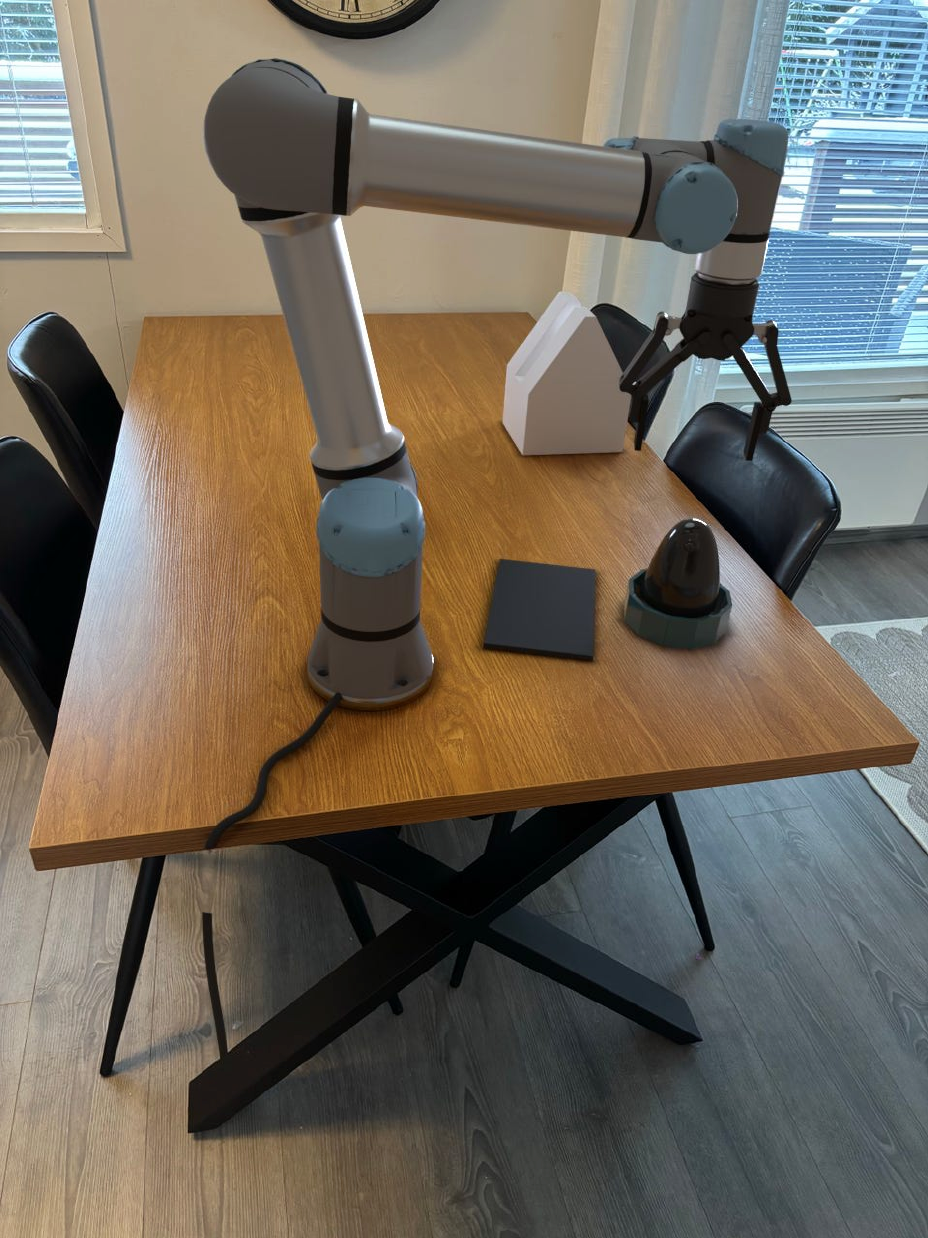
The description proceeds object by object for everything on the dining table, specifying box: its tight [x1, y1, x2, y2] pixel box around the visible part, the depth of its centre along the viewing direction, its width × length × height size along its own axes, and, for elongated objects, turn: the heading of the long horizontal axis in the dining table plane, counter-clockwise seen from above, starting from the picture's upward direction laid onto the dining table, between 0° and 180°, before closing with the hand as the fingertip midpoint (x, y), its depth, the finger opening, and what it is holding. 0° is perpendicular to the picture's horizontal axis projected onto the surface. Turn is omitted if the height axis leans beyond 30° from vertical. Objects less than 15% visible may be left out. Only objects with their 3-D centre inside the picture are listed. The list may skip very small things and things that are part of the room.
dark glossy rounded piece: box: [641, 518, 721, 619], centre depth 127 cm, size 10×10×15 cm
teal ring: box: [623, 567, 733, 650], centre depth 130 cm, size 14×14×4 cm
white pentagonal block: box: [502, 291, 632, 456], centre depth 176 cm, size 19×15×25 cm
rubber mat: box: [482, 558, 596, 662], centre depth 132 cm, size 22×14×1 cm, turn 173°
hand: (692, 451), depth 120 cm, fingers open, 13 cm apart
